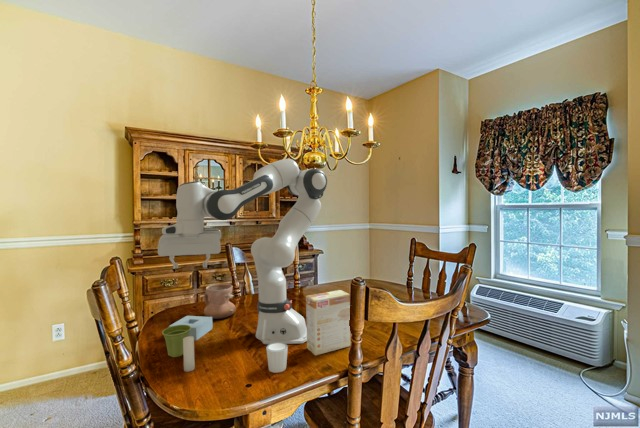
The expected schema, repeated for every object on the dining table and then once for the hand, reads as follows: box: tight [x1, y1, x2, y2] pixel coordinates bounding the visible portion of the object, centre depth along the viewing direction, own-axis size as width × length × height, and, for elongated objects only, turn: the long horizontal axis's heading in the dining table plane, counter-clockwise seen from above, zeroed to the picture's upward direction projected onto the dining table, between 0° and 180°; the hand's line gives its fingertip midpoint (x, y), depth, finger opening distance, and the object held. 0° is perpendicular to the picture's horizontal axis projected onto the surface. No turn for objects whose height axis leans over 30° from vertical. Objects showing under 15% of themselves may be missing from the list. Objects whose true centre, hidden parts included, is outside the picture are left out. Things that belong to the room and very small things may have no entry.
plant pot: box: [161, 325, 191, 358], centre depth 112 cm, size 9×9×9 cm
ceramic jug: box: [203, 283, 237, 320], centre depth 150 cm, size 18×14×14 cm
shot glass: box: [266, 342, 289, 374], centre depth 101 cm, size 7×7×7 cm
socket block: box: [168, 315, 214, 341], centre depth 129 cm, size 12×12×5 cm
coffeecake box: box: [305, 289, 352, 356], centre depth 115 cm, size 15×7×20 cm, turn 118°
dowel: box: [182, 336, 196, 372], centre depth 101 cm, size 3×3×10 cm
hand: (190, 267), depth 109 cm, fingers open, 8 cm apart
